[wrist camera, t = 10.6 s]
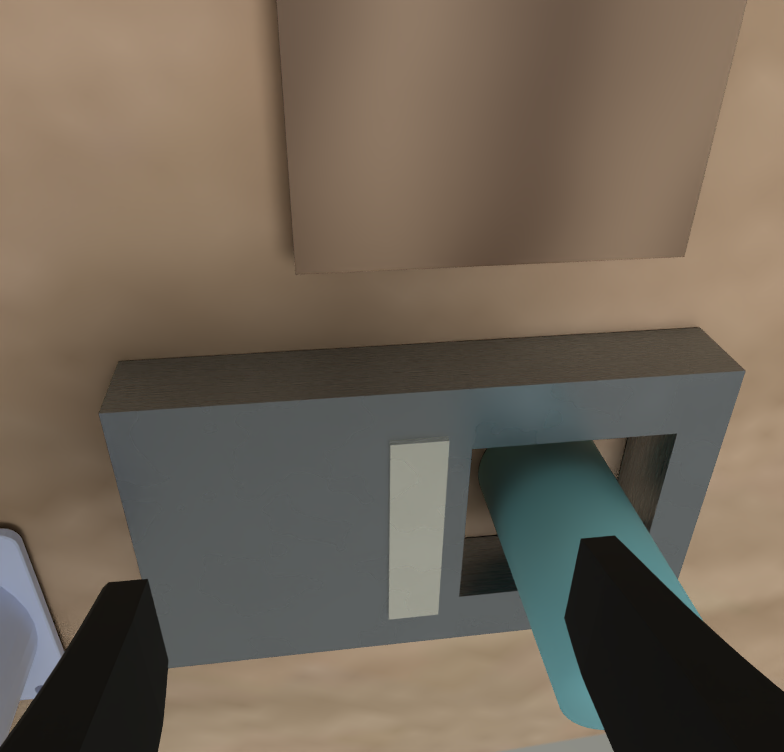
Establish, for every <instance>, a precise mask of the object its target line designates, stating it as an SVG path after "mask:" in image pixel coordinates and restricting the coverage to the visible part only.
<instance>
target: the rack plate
mask: <svg viewBox="0 0 784 752" xmlns="http://www.w3.org/2000/svg"><path fill="white" fill-rule="evenodd" d="M744 374H745V370H744V369H743V368H742V367H741V366H740V365H739V364H738V363H737V362H736V361H735V360H734V359H733V358H732V357H731V356H729V355H728V354H727V353H726V352H725V351H724V350H723V349H722V348H721V347H720V346H719V345H718V344H717V343H716V342H715V341H714V340H712V339H711V338H710V337H709V336H708V335H707V334H706V333H705V332H704V331H703V330H702V329H701V328H685V329H668V330H651V331H634V332H617V333H599V334H582V335H565V336H548V337H531V338H513V339H496V340H479V341H462V342H444V343H427V344H410V345H393V346H376V347H358V348H341V349H324V350H307V351H290V352H272V353H255V354H238V355H221V356H203V357H186V358H169V359H152V360H135V361H119V362H118V364H117V367H116V370H115V372H114V375H113V377H112V380H111V383H110V385H109V388H108V390H107V393H106V396H105V398H104V401H103V404H102V406H101V409H100V411H99V417H100V420H101V424H102V428H103V432H104V436H105V440H106V443H107V447H108V451H109V455H110V459H111V463H112V466H113V470H114V474H115V478H116V482H117V486H118V489H119V493H120V497H121V501H122V505H123V509H124V512H125V516H126V520H127V524H128V528H129V532H130V535H131V539H132V543H133V547H134V551H135V555H136V558H137V562H138V566H139V570H140V574H141V578H142V579H148V581H149V585H150V589H151V593H152V597H153V601H154V605H155V609H156V613H157V617H158V620H159V624H160V628H161V632H162V636H163V640H164V644H165V648H166V652H167V656H168V660H169V661H168V668H175V667H184V666H193V665H203V664H212V663H221V662H230V661H240V660H249V659H258V658H268V657H277V656H286V655H295V654H305V653H314V652H323V651H333V650H342V649H351V648H360V647H370V646H379V645H388V644H397V643H407V642H416V641H425V640H435V639H444V638H453V637H462V636H472V635H481V634H490V633H500V632H509V631H518V630H527V629H531V626H530V623H529V620H528V618H527V615H526V612H525V609H524V606H523V604H522V601H521V598H520V595H519V593H518V590H517V587H516V584H515V581H514V579H513V576H512V573H511V570H510V567H509V565H508V562H507V559H506V556H505V554H504V551H503V548H502V545H501V542H500V540H499V537H498V536H488V537H477V538H466V539H464V535H465V524H466V512H467V501H468V490H469V478H470V467H471V455H472V449H481V448H494V447H507V446H520V445H533V444H546V443H559V442H572V441H585V440H598V439H612V438H625V437H628V439H627V444H626V448H625V452H624V456H623V461H622V465H621V469H620V473H619V478H618V483H619V485H620V486H621V488H622V490H623V491H624V493H625V494H626V496H627V498H628V499H629V501H630V503H631V504H632V506H633V507H634V509H635V511H636V512H637V514H638V516H639V517H640V519H641V521H642V522H643V524H644V525H645V527H646V529H647V530H648V532H649V534H650V535H651V537H652V538H653V540H654V542H655V543H656V545H657V547H658V548H659V550H660V551H661V553H662V555H663V556H664V558H665V560H666V561H667V563H668V565H669V566H670V568H671V569H672V571H673V573H674V574H675V576H676V578H677V579H678V577H679V574H680V571H681V568H682V565H683V562H684V559H685V556H686V553H687V549H688V546H689V543H690V540H691V537H692V534H693V531H694V528H695V525H696V522H697V519H698V516H699V513H700V510H701V506H702V503H703V500H704V497H705V494H706V491H707V488H708V485H709V482H710V479H711V476H712V473H713V470H714V466H715V463H716V460H717V457H718V454H719V451H720V448H721V445H722V442H723V439H724V436H725V433H726V430H727V426H728V423H729V420H730V417H731V414H732V411H733V408H734V405H735V402H736V399H737V396H738V393H739V390H740V386H741V383H742V380H743V377H744Z"/></svg>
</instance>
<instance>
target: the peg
mask: <svg viewBox="0 0 784 752" xmlns="http://www.w3.org/2000/svg"><path fill="white" fill-rule="evenodd" d="M478 479H479V484H480V487H481V490H482V492H483V495H484V498H485V501H486V504H487V506H488V509H489V512H490V515H491V517H492V520H493V523H494V526H495V529H496V531H497V534H498V537H499V540H500V542H501V545H502V548H503V551H504V554H505V556H506V559H507V562H508V565H509V567H510V570H511V573H512V576H513V579H514V581H515V584H516V587H517V590H518V593H519V595H520V598H521V601H522V604H523V606H524V609H525V612H526V615H527V618H528V620H529V623H530V626H531V629H532V631H533V634H534V637H535V640H536V643H537V645H538V648H539V651H540V654H541V657H542V659H543V662H544V665H545V668H546V670H547V673H548V676H549V679H550V682H551V684H552V687H553V690H554V693H555V695H556V698H557V701H558V704H559V707H560V709H561V711H562V712H563V714H564V715H565V716H566V717H567V718H568V719H570V720H571V721H573V722H574V723H576V724H578V725H581V726H584V727H587V728H592V729H599V730H604V728H603V725H602V723H601V721H600V718H599V716H598V714H597V711H596V709H595V707H594V704H593V702H592V700H591V697H590V695H589V693H588V690H587V688H586V686H585V683H584V681H583V678H582V676H581V673H580V670H579V666H578V663H577V660H576V657H575V654H574V651H573V647H572V644H571V640H570V637H569V633H568V630H567V626H566V623H565V619H564V616H565V611H566V607H567V602H568V597H569V592H570V588H571V583H572V578H573V573H574V569H575V564H576V559H577V554H578V549H579V545H580V540H581V538H592V537H603V536H613V535H615V536H616V537H617V538H618V539H619V540H620V541H621V542H622V543H623V544H624V545H625V546H626V547H627V548H628V549H629V550H630V551H631V552H632V553H633V554H634V555H635V556H636V557H637V558H638V559H639V560H641V561H642V562H643V563H644V564H645V565H646V566H647V567H648V568H649V569H650V570H651V571H652V572H653V573H654V574H655V575H656V576H657V577H658V578H659V579H660V580H661V581H662V582H663V583H664V584H665V585H666V586H667V587H668V588H669V589H670V590H671V591H672V592H673V593H674V594H675V595H676V596H677V597H678V598H679V599H680V600H681V601H682V602H683V603H684V604H685V605H686V606H687V607H689V608H690V609H691V610H692V611H693V612H694V613H695V614H696V615H697V616H698V617H699V618H700V619H701V620H702V618H701V617H700V615H699V613H698V612H697V610H696V609H695V607H694V605H693V604H692V602H691V600H690V599H689V597H688V596H687V594H686V592H685V591H684V589H683V587H682V586H681V584H680V582H679V581H678V579H677V578H676V576H675V574H674V573H673V571H672V569H671V568H670V566H669V565H668V563H667V561H666V560H665V558H664V556H663V555H662V553H661V551H660V550H659V548H658V547H657V545H656V543H655V542H654V540H653V538H652V537H651V535H650V534H649V532H648V530H647V529H646V527H645V525H644V524H643V522H642V521H641V519H640V517H639V516H638V514H637V512H636V511H635V509H634V507H633V506H632V504H631V503H630V501H629V499H628V498H627V496H626V494H625V493H624V491H623V490H622V488H621V486H620V485H619V483H618V481H617V480H616V478H615V476H614V475H613V473H612V472H611V470H610V468H609V467H608V465H607V463H606V462H605V460H604V459H603V457H602V455H601V454H600V452H599V450H598V449H597V447H596V445H595V444H594V442H593V441H592V440H585V441H572V442H559V443H546V444H533V445H520V446H507V447H494V448H488V449H487V450H486V452H485V453H484V455H483V457H482V459H481V462H480V465H479V471H478ZM702 621H703V620H702Z"/></svg>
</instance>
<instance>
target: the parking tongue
mask: <svg viewBox="0 0 784 752" xmlns="http://www.w3.org/2000/svg"><path fill="white" fill-rule="evenodd" d="M276 1H277V15H278V29H279V44H280V58H281V72H282V87H283V101H284V115H285V130H286V144H287V159H288V173H289V187H290V202H291V216H292V230H293V245H294V259H295V273H296V275H297V274H319V273H341V272H363V271H385V270H407V269H428V268H450V267H472V266H494V265H516V264H538V263H560V262H582V261H604V260H626V259H648V258H670V257H684V256H685V252H686V248H687V244H688V240H689V236H690V231H691V227H692V223H693V219H694V215H695V211H696V207H697V203H698V199H699V195H700V191H701V187H702V183H703V179H704V174H705V170H706V166H707V162H708V158H709V154H710V150H711V146H712V142H713V138H714V134H715V130H716V126H717V122H718V117H719V113H720V109H721V105H722V101H723V97H724V93H725V89H726V85H727V81H728V77H729V73H730V69H731V65H732V60H733V56H734V52H735V48H736V44H737V40H738V36H739V32H740V28H741V24H742V20H743V16H744V12H745V7H746V3H747V0H276Z"/></svg>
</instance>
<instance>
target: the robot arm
mask: <svg viewBox="0 0 784 752" xmlns="http://www.w3.org/2000/svg"><path fill="white" fill-rule="evenodd" d="M564 619H565V623H566V626H567V630H568V633H569V637H570V640H571V644H572V647H573V651H574V654H575V657H576V660H577V663H578V666H579V670H580V673H581V676H582V678H583V681H584V683H585V686H586V688H587V690H588V693H589V695H590V697H591V700H592V702H593V704H594V707H595V709H596V711H597V714H598V716H599V718H600V721H601V723H602V725H603V728H604V730H605V732H606V735H607V737H608V739H609V741H610V744H611V746H612V748H613V751H614V752H784V691H782V690H781V689H780V688H779V687H777V686H776V685H775V684H774V683H773V682H771V681H770V680H769V679H768V678H767V677H766V676H764V675H763V674H762V673H761V672H760V671H758V670H757V669H756V668H755V667H754V666H753V665H751V664H750V663H749V662H748V661H747V660H745V659H744V658H743V657H742V656H741V655H740V654H739V653H738V652H736V651H735V650H734V649H733V648H732V647H731V646H730V645H728V644H727V643H726V642H725V641H724V640H723V639H722V638H721V637H720V636H719V635H718V634H717V633H715V632H714V631H713V630H712V629H711V628H710V627H709V626H708V625H707V624H706V623H705V622H704V621H702V620H701V619H700V618H699V617H698V616H697V615H696V614H695V613H694V612H693V611H692V610H691V609H690V608H689V607H687V606H686V605H685V604H684V603H683V602H682V601H681V600H680V599H679V598H678V597H677V596H676V595H675V594H674V593H673V592H672V591H671V590H670V589H669V588H668V587H667V586H666V585H665V584H664V583H663V582H662V581H661V580H660V579H659V578H658V577H657V576H656V575H655V574H654V573H653V572H652V571H651V570H650V569H649V568H648V567H647V566H646V565H645V564H644V563H643V562H642V561H641V560H639V559H638V558H637V557H636V556H635V555H634V554H633V553H632V552H631V551H630V550H629V549H628V548H627V547H626V546H625V545H624V544H623V543H622V542H621V541H620V540H619V539H618V538H617V537H616V536H615V535H613V536H603V537H592V538H581V540H580V545H579V549H578V554H577V559H576V564H575V569H574V573H573V578H572V583H571V588H570V592H569V597H568V602H567V607H566V611H565V616H564ZM168 661H169V660H168V656H167V652H166V648H165V644H164V640H163V636H162V632H161V628H160V624H159V620H158V617H157V613H156V609H155V605H154V601H153V597H152V593H151V589H150V585H149V581H148V579H141V580H130V581H120V582H109V583H108V584H107V585H105V586H104V587H103V588H102V590H101V592H100V594H99V595H98V597H97V599H96V601H95V602H94V604H93V606H92V608H91V609H90V611H89V613H88V614H87V616H86V618H85V620H84V621H83V623H82V625H81V626H80V628H79V630H78V631H77V633H76V634H75V636H74V638H73V639H72V641H71V643H70V644H69V646H68V647H67V649H66V651H65V652H64V650H63V647H62V644H61V642H60V639H59V636H58V634H57V631H56V628H55V626H54V623H53V620H52V618H51V615H50V612H49V610H48V607H47V604H46V602H45V599H44V596H43V594H42V591H41V588H40V586H39V583H38V580H37V578H36V575H35V572H34V570H33V567H32V564H31V562H30V559H29V556H28V554H27V551H26V548H25V546H24V543H23V540H22V538H21V537H20V535H19V534H18V533H16V532H15V531H13V530H10V529H1V528H0V752H158V748H159V743H160V737H161V732H162V727H163V718H164V708H165V698H166V686H167V674H168ZM27 699H33V701H32V702H31V704H30V705H29V707H28V708H27V710H26V711H25V713H24V714H23V716H22V717H21V719H20V720H19V721H18V723H17V724H16V726H15V727H14V728H13V730H12V731H11V732H10V734H9V731H10V728H11V725H12V722H13V719H14V716H15V713H16V710H17V707H18V704H19V701H20V700H27ZM8 734H9V735H8ZM7 736H8V737H7Z"/></svg>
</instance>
